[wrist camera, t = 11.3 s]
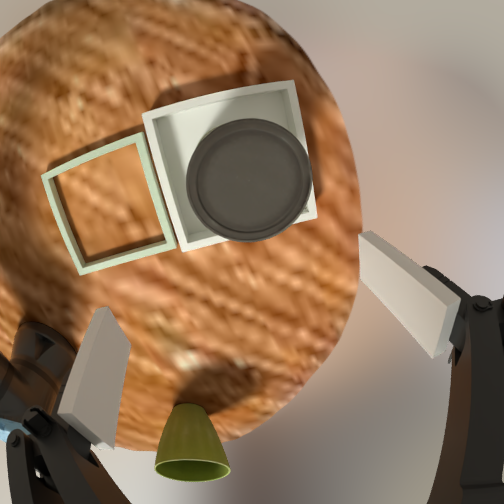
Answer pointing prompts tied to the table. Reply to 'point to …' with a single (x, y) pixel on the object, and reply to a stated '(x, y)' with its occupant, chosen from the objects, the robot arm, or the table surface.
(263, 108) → the bin
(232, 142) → the coffee can
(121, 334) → the robot arm
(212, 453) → the flower pot
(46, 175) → the frame
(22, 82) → the table surface
